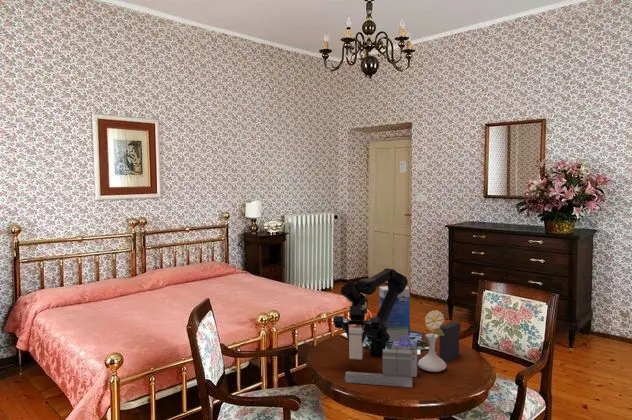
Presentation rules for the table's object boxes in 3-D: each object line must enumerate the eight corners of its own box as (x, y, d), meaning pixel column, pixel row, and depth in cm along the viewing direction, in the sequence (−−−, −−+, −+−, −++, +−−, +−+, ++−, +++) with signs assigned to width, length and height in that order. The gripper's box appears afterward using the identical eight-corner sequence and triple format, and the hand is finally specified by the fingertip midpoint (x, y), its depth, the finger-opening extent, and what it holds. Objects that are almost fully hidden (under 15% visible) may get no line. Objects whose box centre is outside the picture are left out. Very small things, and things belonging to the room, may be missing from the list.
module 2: (383, 379, 184) (383, 348, 183) (396, 380, 183) (396, 349, 182) (382, 383, 181) (382, 352, 180) (396, 384, 180) (396, 352, 179)
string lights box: (405, 337, 233) (405, 284, 232) (410, 342, 225) (410, 288, 224) (379, 338, 231) (378, 286, 230) (383, 343, 224) (383, 289, 222)
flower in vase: (412, 366, 197) (411, 306, 195) (434, 361, 201) (434, 303, 199) (431, 378, 185) (431, 314, 183) (455, 372, 189) (455, 311, 187)
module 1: (350, 355, 192) (349, 326, 191) (363, 356, 191) (362, 326, 190) (349, 358, 188) (348, 329, 187) (362, 359, 187) (361, 329, 186)
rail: (345, 375, 188) (345, 366, 188) (412, 380, 183) (412, 371, 183) (342, 382, 182) (342, 373, 182) (412, 387, 176) (412, 378, 176)
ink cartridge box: (417, 371, 191) (417, 336, 190) (417, 377, 185) (417, 341, 184) (392, 370, 193) (392, 335, 192) (391, 375, 187) (391, 339, 186)
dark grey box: (451, 354, 209) (451, 320, 209) (460, 356, 206) (460, 322, 205) (438, 360, 202) (438, 326, 201) (447, 363, 199) (447, 328, 198)
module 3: (397, 380, 183) (397, 349, 182) (411, 381, 182) (411, 350, 181) (397, 384, 180) (397, 352, 179) (411, 385, 179) (410, 353, 178)
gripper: (333, 296, 194) (329, 331, 184) (379, 298, 190) (377, 334, 180) (337, 310, 202) (333, 344, 192) (381, 311, 198) (379, 347, 188)
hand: (355, 342), depth 188 cm, fingers closed on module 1, 5 cm apart
